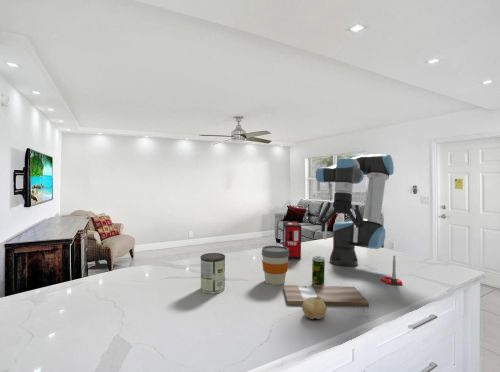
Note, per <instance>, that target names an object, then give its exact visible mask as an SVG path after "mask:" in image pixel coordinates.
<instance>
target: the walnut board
mask: <svg viewBox="0 0 500 372" xmlns="http://www.w3.org/2000/svg"><path fill="white" fill-rule="evenodd" d="M282 285H283V292H284V296H285V300H286V305H287V306H302V304H303V302H304V301H305V300H306V299H307V298H310V297H317V294H318V297H321V300H322V301H323V302H324V303H325V305H326V307H327V306H329V307H330V306H331V307H370V302H369V301H368V300H367V299H366V298H365V297H364V296H363V294H362V293H361V291H359V290H358V289H357V288H356V286H345V285H344V286H342V285H341V286H340V285H335V286H334V285H323V286H314V285H305V284H304V285H303V284H302V285H300V284H297V285H295V284H294V285H293V284H292V285H291V284H288V285H286V284H285V285H284V284H282Z"/></svg>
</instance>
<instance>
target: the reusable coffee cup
mask: <svg viewBox="0 0 500 372" xmlns="http://www.w3.org/2000/svg"><path fill="white" fill-rule="evenodd" d="M261 256H262V260H261V262H262V271H263V273H264V282H265V283H266V284H269V285H274V286H279V285H284V284H285V282H286V278H287V272H288V269H289V268H288V267H289V259H288V256H289V249H288V248H287V247H283V245H267V246H264V247H262V249H261Z"/></svg>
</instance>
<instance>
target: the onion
mask: <svg viewBox="0 0 500 372" xmlns="http://www.w3.org/2000/svg"><path fill="white" fill-rule="evenodd" d="M301 310H302V312H303V314H304V316H305V317H306V318H308V319H310V320H315V319H316V320H322V318H323V317H325V315H326V313H327V306H326V305H325V303H324V302H323V301H322V300H321V297H318V294H317V297H310V298H307V299H306V300H305V301H304V302H303V304H302V305H301Z"/></svg>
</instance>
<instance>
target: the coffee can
mask: <svg viewBox="0 0 500 372" xmlns="http://www.w3.org/2000/svg"><path fill="white" fill-rule="evenodd" d="M225 260H226V255H225V254H223V253H219V252H209V253H204V254H202V255H201V256H200V291H201V292H202V293H205V294H219V293H222V292H223V291H225V289H226V287H225V286H226V283H225V282H226V281H225V280H226V269H225V267H226V263H225V262H226V261H225Z"/></svg>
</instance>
